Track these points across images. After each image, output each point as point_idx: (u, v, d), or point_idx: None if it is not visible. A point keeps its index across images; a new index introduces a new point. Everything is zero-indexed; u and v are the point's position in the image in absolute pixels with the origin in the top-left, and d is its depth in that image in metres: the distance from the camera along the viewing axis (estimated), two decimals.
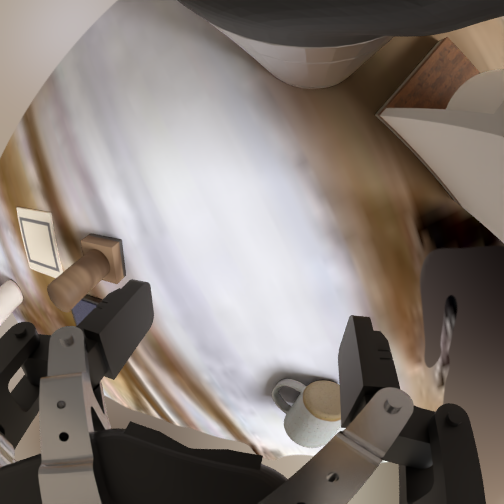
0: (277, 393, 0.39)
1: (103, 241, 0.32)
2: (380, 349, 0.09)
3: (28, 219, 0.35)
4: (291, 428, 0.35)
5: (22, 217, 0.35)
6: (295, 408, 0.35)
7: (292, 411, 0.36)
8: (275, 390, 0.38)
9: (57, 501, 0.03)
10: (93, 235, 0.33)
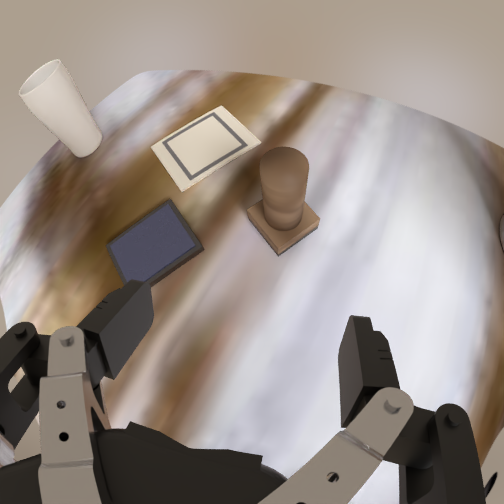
0: None
1: None
2: (380, 349, 0.09)
3: (223, 122, 0.35)
4: None
5: (217, 115, 0.36)
6: None
7: None
8: None
9: (57, 501, 0.03)
10: None
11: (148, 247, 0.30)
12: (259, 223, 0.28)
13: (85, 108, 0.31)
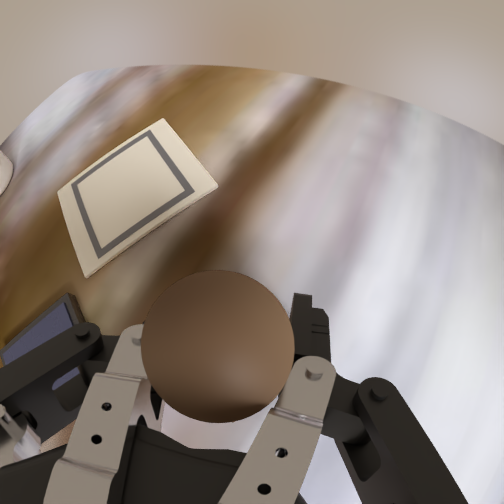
0: None
1: None
2: (318, 324, 0.10)
3: (160, 147, 0.21)
4: None
5: (153, 135, 0.22)
6: None
7: None
8: None
9: (57, 501, 0.03)
10: None
11: None
12: None
13: None
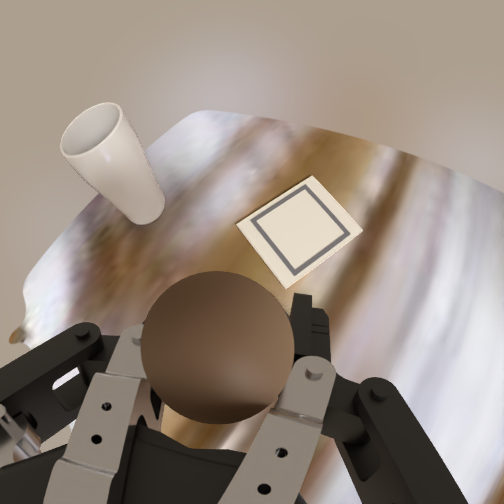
0: None
1: None
2: (318, 324, 0.10)
3: (319, 199, 0.33)
4: None
5: (310, 189, 0.34)
6: None
7: None
8: None
9: (57, 501, 0.03)
10: None
11: None
12: None
13: (150, 170, 0.29)
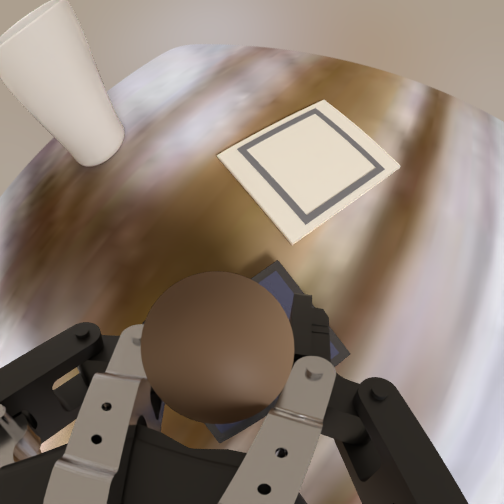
0: None
1: None
2: (318, 324, 0.10)
3: (336, 126, 0.22)
4: None
5: (323, 114, 0.23)
6: None
7: None
8: None
9: (57, 501, 0.03)
10: None
11: None
12: None
13: (100, 82, 0.18)
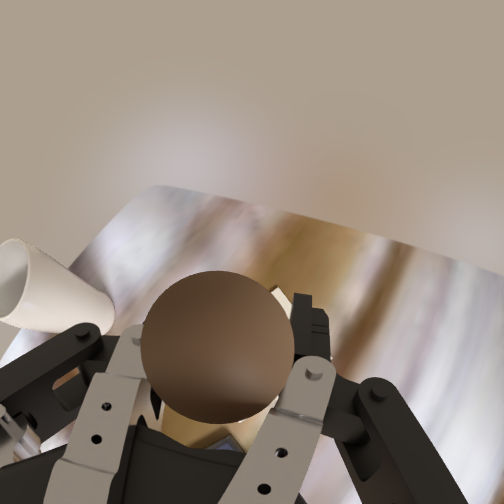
0: None
1: None
2: (318, 324, 0.10)
3: None
4: None
5: None
6: None
7: None
8: None
9: (57, 501, 0.03)
10: None
11: None
12: None
13: (86, 297, 0.24)
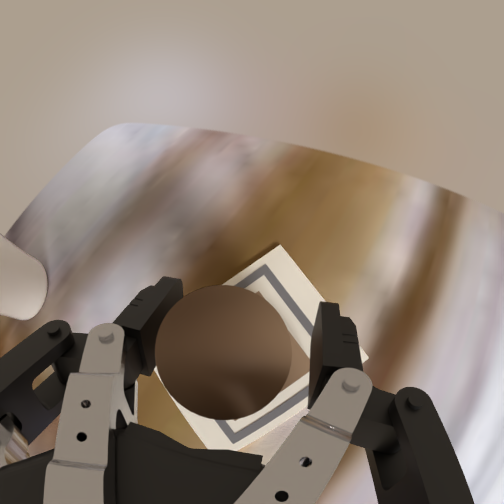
0: None
1: None
2: (347, 334, 0.10)
3: (290, 298, 0.18)
4: None
5: (274, 276, 0.18)
6: None
7: None
8: None
9: (57, 501, 0.03)
10: None
11: None
12: None
13: None
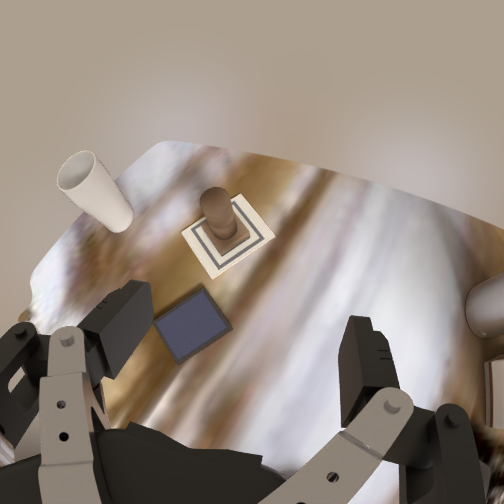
0: None
1: None
2: (380, 349, 0.09)
3: (243, 212, 0.45)
4: None
5: (237, 205, 0.46)
6: None
7: None
8: None
9: (57, 501, 0.03)
10: None
11: (189, 327, 0.39)
12: (208, 234, 0.42)
13: (119, 194, 0.41)
